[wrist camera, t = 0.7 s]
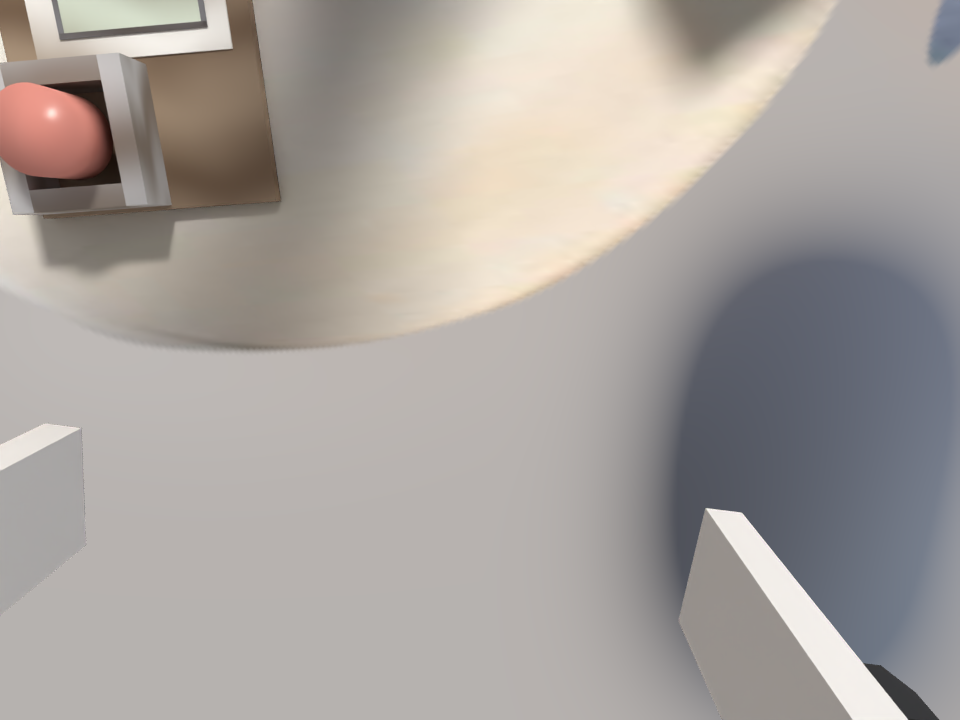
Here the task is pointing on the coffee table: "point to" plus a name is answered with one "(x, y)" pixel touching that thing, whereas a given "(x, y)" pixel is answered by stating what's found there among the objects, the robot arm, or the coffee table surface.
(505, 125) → the coffee table surface
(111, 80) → the board
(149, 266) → the coffee table surface
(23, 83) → the button
